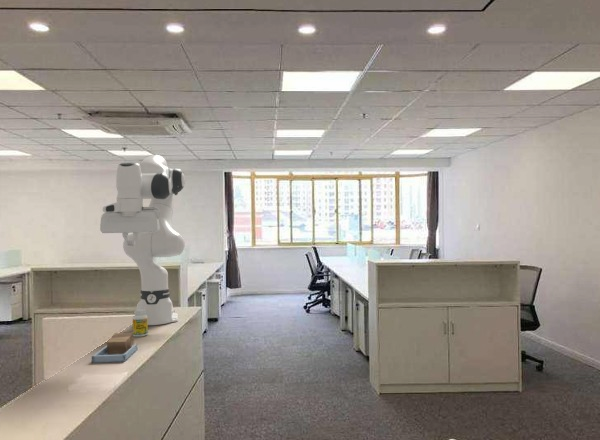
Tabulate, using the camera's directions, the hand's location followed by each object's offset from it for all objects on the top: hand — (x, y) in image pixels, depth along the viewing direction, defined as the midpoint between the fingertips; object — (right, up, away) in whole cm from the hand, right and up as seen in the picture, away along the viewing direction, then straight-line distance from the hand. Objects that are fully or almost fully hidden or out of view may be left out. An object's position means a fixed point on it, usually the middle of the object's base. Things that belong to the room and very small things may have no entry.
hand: (130, 245), depth 164 cm
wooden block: (+1, -31, -9) cm, 33 cm away
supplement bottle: (0, -35, +10) cm, 36 cm away
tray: (+2, -35, -18) cm, 39 cm away
